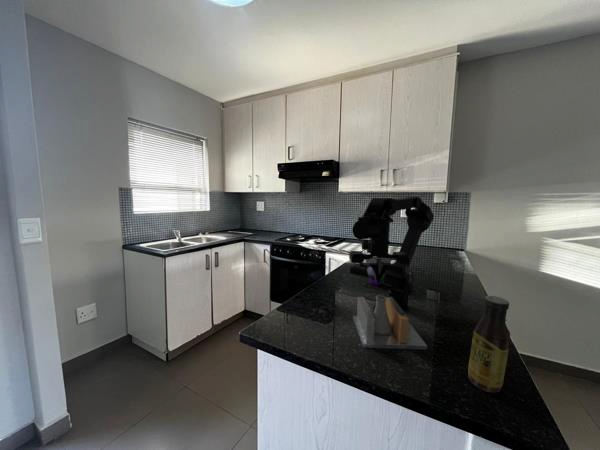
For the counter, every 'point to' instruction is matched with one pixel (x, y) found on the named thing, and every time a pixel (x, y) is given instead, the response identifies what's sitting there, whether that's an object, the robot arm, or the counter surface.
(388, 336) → the vise base
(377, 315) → the flask
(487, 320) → the sauce bottle
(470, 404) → the counter surface
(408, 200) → the robot arm
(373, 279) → the potion bottle
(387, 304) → the block
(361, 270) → the multimeter
